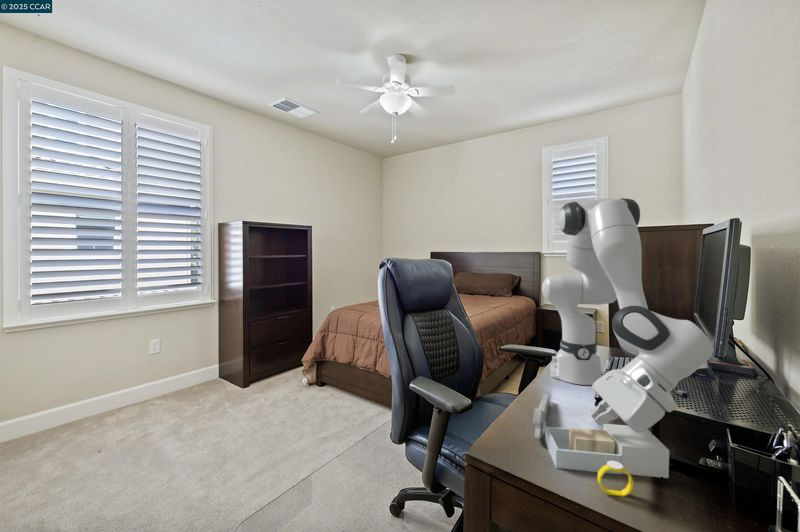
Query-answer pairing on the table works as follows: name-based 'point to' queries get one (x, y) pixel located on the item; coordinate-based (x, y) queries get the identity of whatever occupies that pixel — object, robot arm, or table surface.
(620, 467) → the watch
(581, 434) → the block
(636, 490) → the table surface
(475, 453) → the table surface
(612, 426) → the riser
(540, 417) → the wrench
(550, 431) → the tray
